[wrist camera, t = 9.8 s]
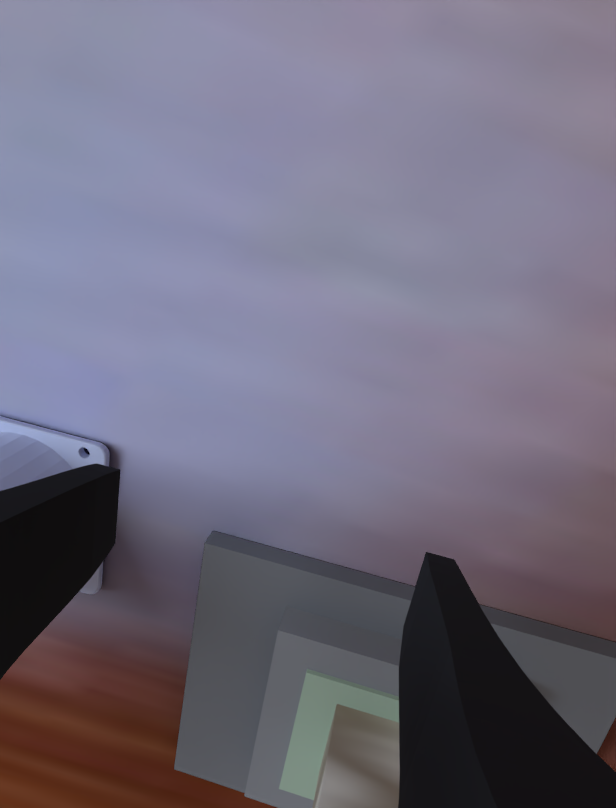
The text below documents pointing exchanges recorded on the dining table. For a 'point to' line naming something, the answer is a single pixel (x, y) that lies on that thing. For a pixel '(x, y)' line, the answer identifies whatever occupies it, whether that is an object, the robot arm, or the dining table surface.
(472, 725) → the robot arm
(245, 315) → the dining table surface
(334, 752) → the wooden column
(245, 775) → the stepped stand
